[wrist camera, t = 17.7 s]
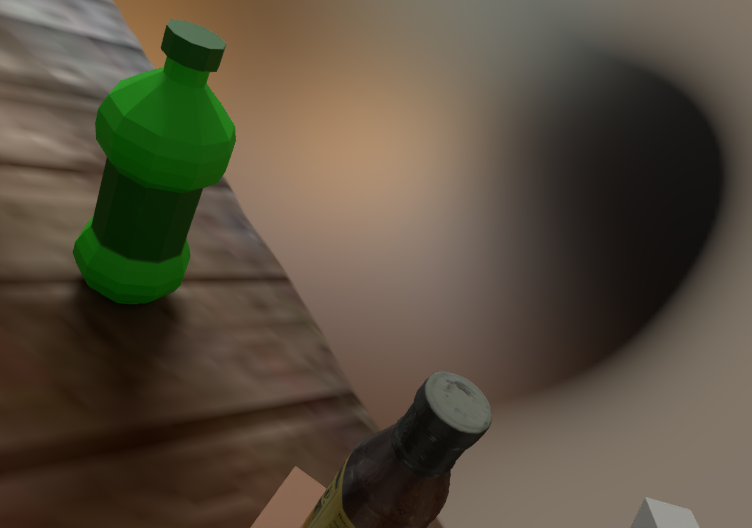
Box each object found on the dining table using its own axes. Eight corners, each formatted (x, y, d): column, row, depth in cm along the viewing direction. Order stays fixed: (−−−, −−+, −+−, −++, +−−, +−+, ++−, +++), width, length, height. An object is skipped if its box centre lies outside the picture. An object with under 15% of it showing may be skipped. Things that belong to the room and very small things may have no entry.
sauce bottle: (335, 517, 45) (467, 343, 34) (379, 596, 41) (539, 429, 31) (262, 550, 40) (388, 361, 30) (304, 641, 37) (462, 464, 27)
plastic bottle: (189, 268, 61) (269, 43, 48) (166, 338, 52) (256, 87, 39) (88, 236, 58) (145, -13, 45) (46, 305, 49) (101, 22, 36)
